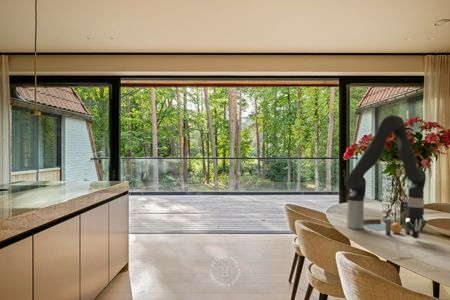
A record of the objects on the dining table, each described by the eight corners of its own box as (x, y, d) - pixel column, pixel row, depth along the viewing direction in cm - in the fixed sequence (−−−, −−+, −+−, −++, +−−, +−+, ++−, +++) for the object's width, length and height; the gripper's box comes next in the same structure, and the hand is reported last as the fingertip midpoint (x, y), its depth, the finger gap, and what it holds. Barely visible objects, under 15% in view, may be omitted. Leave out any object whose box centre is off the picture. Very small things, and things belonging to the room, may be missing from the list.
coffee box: (399, 226, 208) (399, 201, 208) (406, 225, 211) (406, 200, 211) (412, 229, 200) (413, 203, 200) (419, 229, 203) (420, 203, 203)
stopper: (354, 223, 216) (354, 219, 216) (378, 222, 219) (378, 218, 219) (356, 224, 214) (356, 220, 214) (380, 223, 217) (380, 219, 217)
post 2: (404, 233, 191) (404, 218, 191) (408, 233, 192) (408, 217, 192) (407, 234, 189) (407, 219, 189) (411, 234, 189) (411, 218, 189)
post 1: (384, 234, 189) (384, 218, 189) (388, 234, 189) (388, 218, 189) (387, 235, 186) (387, 219, 186) (391, 235, 187) (391, 219, 187)
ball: (387, 230, 195) (389, 221, 193) (395, 229, 196) (398, 220, 194) (393, 235, 189) (396, 226, 187) (402, 235, 190) (405, 226, 189)
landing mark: (362, 225, 211) (362, 224, 211) (381, 224, 214) (381, 224, 214) (376, 230, 197) (376, 230, 197) (396, 229, 200) (396, 229, 200)
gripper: (420, 204, 181) (420, 235, 181) (400, 204, 179) (399, 236, 179) (431, 206, 174) (431, 239, 174) (410, 207, 171) (410, 240, 171)
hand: (415, 237), depth 176 cm, fingers closed
